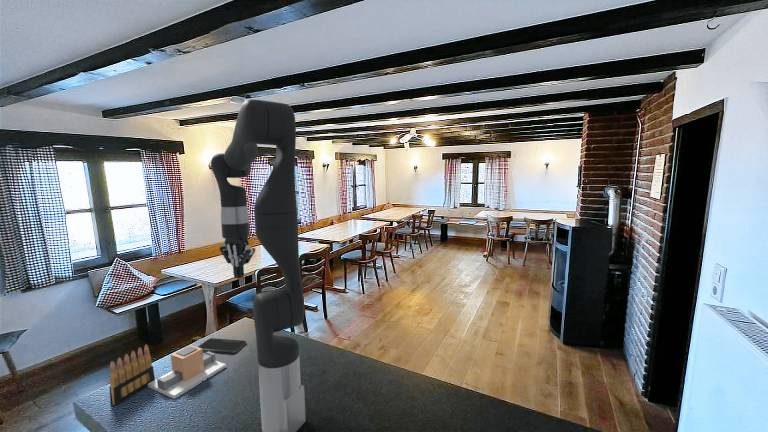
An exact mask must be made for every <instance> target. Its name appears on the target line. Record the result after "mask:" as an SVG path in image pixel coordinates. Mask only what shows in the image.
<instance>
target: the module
mask: <svg viewBox="0 0 768 432" xmlns="http://www.w3.org/2000/svg"><path fill="white" fill-rule="evenodd" d="M203 353H204V352H203V350H202V348H199V347H198V346H195V345H192V344H189V345H188V346H186V347H183V348H182V349H180V350H177V351H176V352H174V353H171V354H170V360H171V371H172V372H175V371H178V372H181V373H182V381H184V382H185V381H187V380H189V379H190V378H192V377H194V376H195V375H197V374H199V373H201V372H202V371H204V362H203V356H204V354H203Z"/></svg>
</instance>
